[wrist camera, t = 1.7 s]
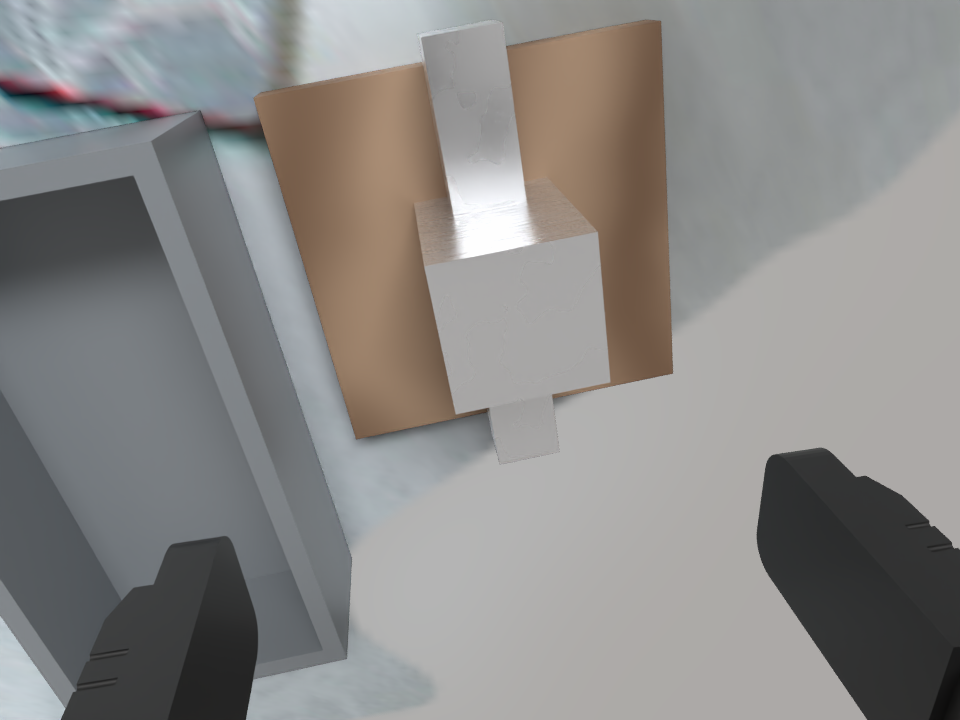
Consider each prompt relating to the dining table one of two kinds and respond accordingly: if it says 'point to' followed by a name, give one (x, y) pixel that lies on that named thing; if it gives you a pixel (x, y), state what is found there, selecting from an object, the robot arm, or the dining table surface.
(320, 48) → the dining table surface
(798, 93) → the dining table surface
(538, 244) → the strut
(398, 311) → the stud base
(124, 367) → the bin
